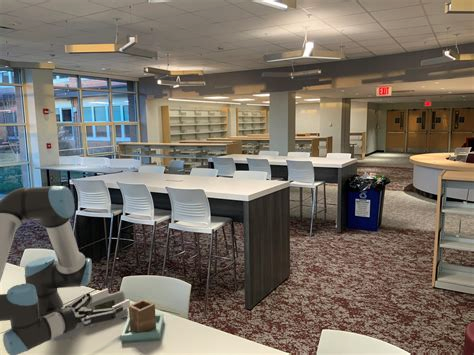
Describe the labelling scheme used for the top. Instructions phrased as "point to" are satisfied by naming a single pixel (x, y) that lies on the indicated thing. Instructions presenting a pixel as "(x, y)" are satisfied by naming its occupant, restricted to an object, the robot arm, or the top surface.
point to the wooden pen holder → (142, 316)
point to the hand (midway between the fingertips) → (118, 297)
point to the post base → (67, 334)
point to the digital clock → (109, 305)
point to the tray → (144, 336)
